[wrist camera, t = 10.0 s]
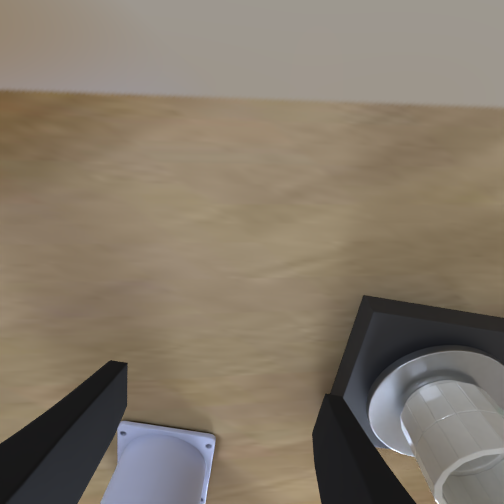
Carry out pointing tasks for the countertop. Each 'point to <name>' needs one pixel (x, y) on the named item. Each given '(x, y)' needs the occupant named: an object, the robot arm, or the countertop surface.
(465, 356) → the scale pan
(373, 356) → the scale
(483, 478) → the cup
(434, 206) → the countertop surface
